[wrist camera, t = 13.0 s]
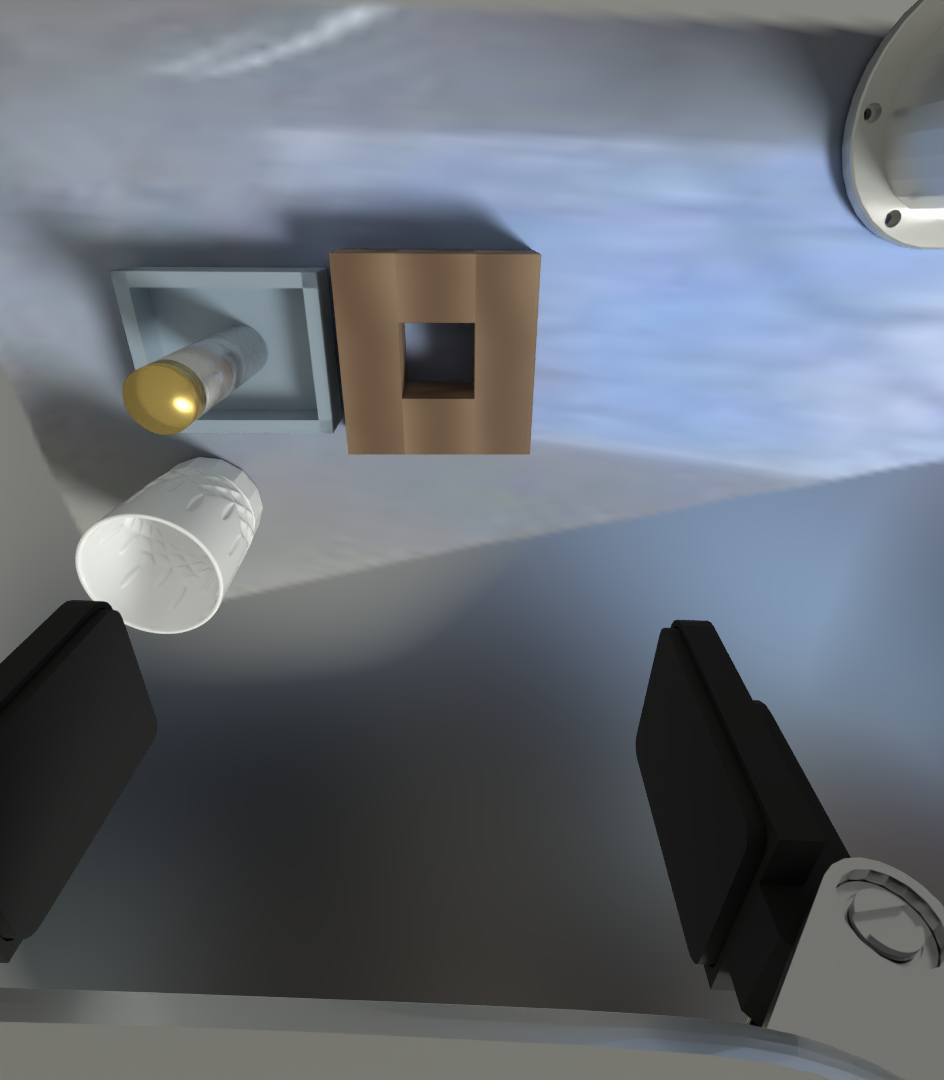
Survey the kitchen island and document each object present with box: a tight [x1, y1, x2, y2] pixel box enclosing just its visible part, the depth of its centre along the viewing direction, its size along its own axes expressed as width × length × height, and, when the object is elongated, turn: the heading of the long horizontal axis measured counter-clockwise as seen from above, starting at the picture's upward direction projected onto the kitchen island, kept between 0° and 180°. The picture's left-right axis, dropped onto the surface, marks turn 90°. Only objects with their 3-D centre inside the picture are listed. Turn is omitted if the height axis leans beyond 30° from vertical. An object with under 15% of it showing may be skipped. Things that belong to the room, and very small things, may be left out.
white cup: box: [75, 457, 263, 634], centre depth 37 cm, size 8×8×10 cm
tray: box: [109, 267, 342, 433], centre depth 35 cm, size 11×9×3 cm
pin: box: [123, 324, 268, 435], centre depth 31 cm, size 3×3×12 cm
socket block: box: [329, 249, 541, 454], centre depth 35 cm, size 11×11×4 cm
